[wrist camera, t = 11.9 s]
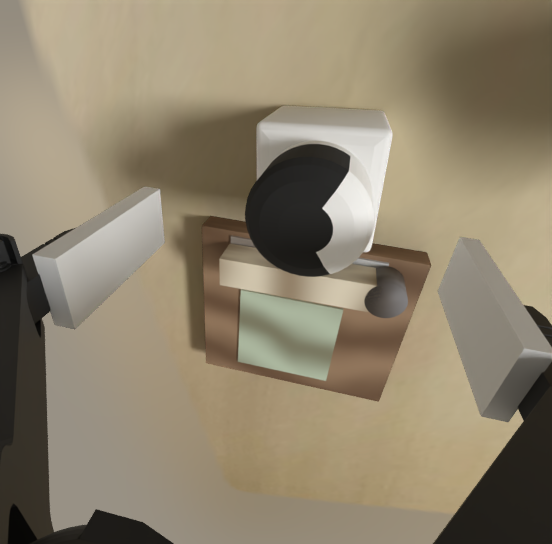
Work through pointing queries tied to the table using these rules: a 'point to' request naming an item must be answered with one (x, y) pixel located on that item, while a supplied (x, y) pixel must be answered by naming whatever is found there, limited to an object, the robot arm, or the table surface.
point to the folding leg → (317, 283)
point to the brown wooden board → (304, 323)
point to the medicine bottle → (317, 187)
